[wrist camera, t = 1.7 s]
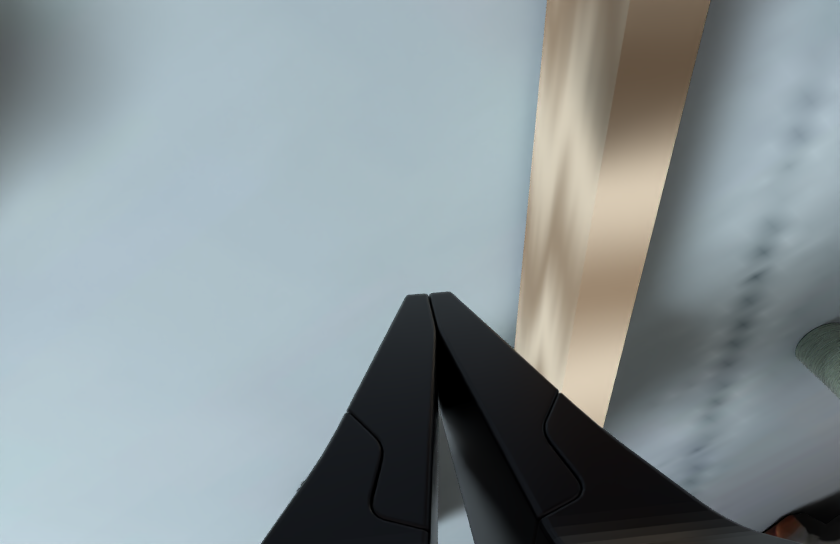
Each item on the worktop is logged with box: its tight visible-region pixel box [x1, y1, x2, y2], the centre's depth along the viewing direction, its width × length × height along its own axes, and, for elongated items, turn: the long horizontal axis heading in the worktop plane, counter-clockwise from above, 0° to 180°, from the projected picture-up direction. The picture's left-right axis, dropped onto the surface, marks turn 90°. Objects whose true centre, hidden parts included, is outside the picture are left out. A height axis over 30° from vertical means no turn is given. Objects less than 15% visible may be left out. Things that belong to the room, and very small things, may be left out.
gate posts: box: [795, 323, 840, 399], centre depth 20 cm, size 2×16×7 cm, turn 99°
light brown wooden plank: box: [514, 0, 711, 428], centre depth 15 cm, size 17×2×5 cm, turn 2°
